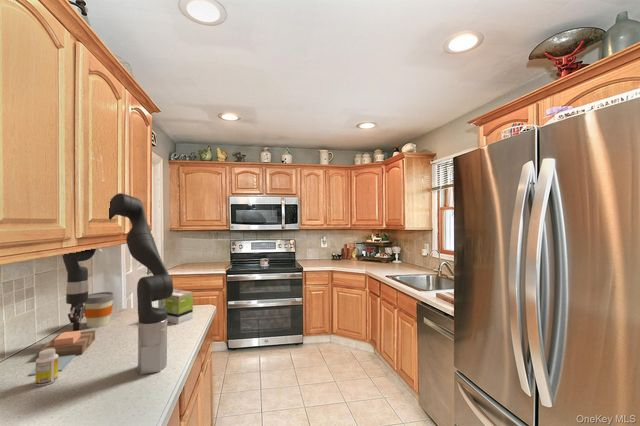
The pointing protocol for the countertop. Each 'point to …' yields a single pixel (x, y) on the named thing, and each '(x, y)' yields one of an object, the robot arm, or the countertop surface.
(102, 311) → the reusable coffee cup
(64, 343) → the salmon foam block
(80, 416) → the countertop surface
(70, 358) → the mat
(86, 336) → the block
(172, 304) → the tea box
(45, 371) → the supplement bottle
